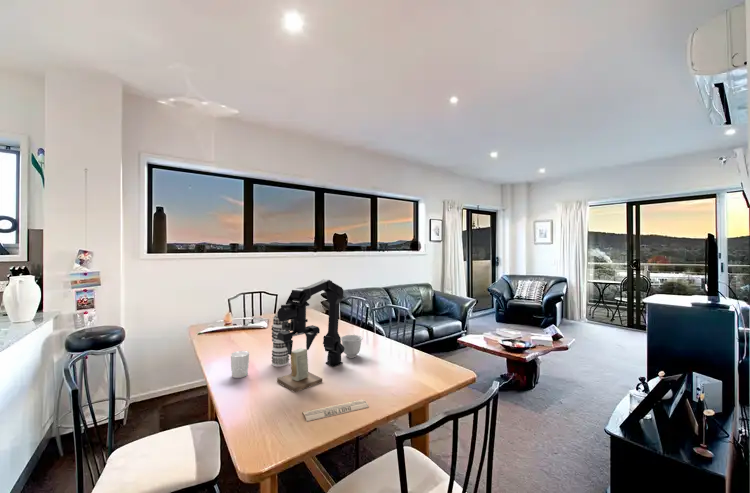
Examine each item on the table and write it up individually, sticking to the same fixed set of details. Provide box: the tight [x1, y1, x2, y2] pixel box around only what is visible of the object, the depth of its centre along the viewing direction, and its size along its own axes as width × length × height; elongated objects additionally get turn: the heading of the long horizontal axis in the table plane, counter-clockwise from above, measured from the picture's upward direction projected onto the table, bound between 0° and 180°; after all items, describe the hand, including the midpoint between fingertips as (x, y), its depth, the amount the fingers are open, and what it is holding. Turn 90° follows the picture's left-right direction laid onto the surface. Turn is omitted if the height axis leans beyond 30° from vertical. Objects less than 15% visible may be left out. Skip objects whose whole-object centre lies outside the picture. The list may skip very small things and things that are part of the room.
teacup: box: [340, 334, 363, 359], centre depth 178 cm, size 12×15×10 cm
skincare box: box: [290, 347, 309, 381], centre depth 142 cm, size 6×4×12 cm
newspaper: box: [302, 398, 370, 423], centre depth 118 cm, size 24×7×2 cm, turn 116°
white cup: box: [230, 350, 250, 379], centre depth 149 cm, size 8×8×10 cm
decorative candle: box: [270, 313, 291, 367], centre depth 165 cm, size 9×9×25 cm
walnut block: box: [276, 371, 323, 393], centre depth 143 cm, size 14×14×2 cm
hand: (298, 352), depth 143 cm, fingers open, 9 cm apart
